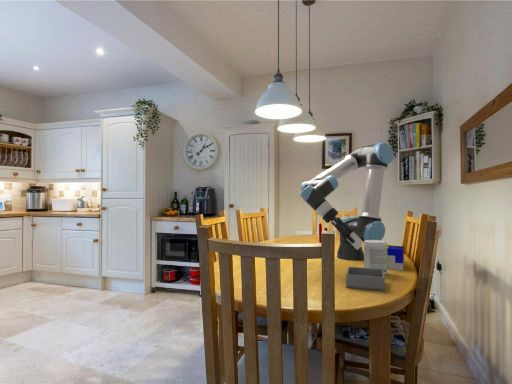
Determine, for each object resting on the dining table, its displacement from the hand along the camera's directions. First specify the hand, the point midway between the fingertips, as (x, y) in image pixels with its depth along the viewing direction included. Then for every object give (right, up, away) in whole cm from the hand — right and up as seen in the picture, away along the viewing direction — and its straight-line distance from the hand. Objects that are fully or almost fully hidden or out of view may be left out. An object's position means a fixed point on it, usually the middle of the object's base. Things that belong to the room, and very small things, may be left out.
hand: (360, 245), depth 139 cm
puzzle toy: (+20, -13, +11) cm, 26 cm away
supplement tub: (+6, -13, -2) cm, 14 cm away
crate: (-4, -12, -19) cm, 23 cm away
